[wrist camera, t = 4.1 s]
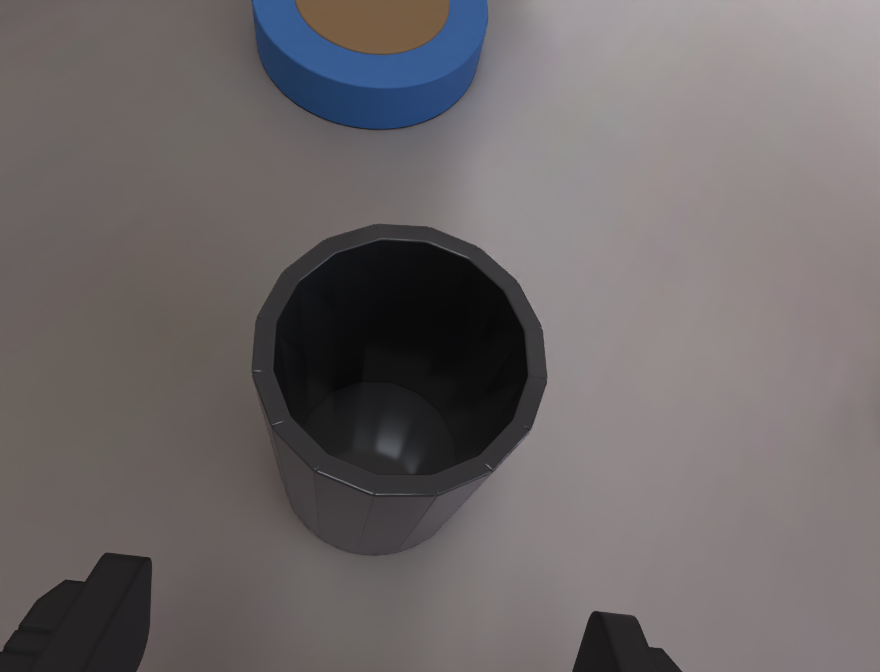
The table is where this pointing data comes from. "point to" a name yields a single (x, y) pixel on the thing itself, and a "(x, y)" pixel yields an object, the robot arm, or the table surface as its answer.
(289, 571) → the table surface
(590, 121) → the table surface
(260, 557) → the table surface
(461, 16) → the tape
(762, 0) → the table surface
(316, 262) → the bin
